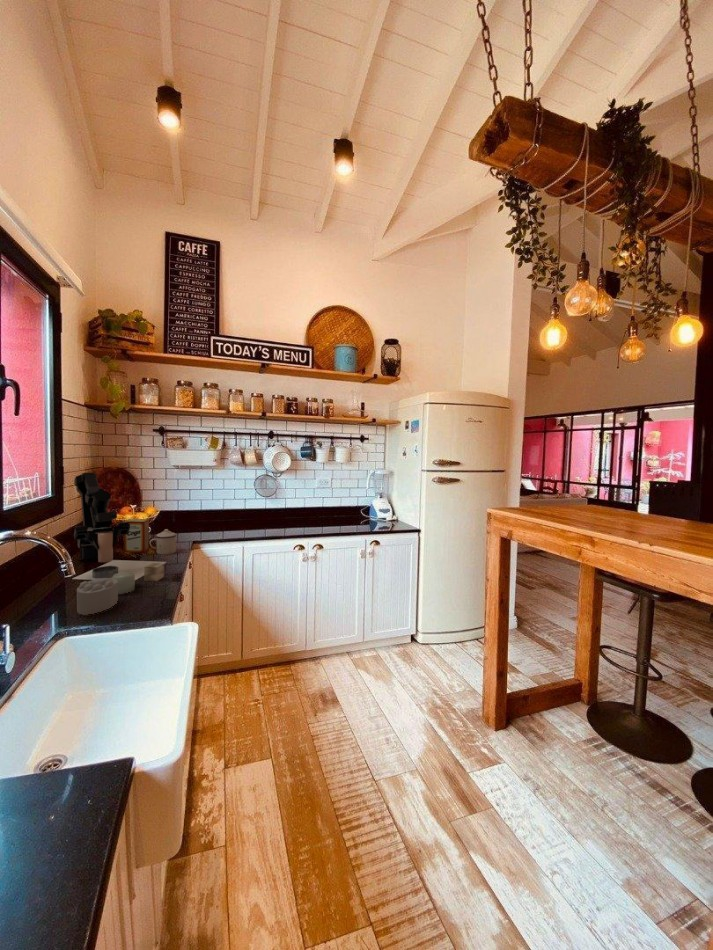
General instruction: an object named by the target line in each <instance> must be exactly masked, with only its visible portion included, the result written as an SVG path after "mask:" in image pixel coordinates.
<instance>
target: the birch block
mask: <svg viewBox="0 0 713 950" xmlns="http://www.w3.org/2000/svg"><path fill="white" fill-rule="evenodd" d="M164 567H165V563H150V564H148V565H146V566H145V567H144V576H143V578H144V579H143V581H146V582H147V581H148V582H149V581H150V582H154V581H155V582H158V581H160V580H161V579H163V578H164V574H165V573H164V569H165V568H164Z"/></svg>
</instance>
